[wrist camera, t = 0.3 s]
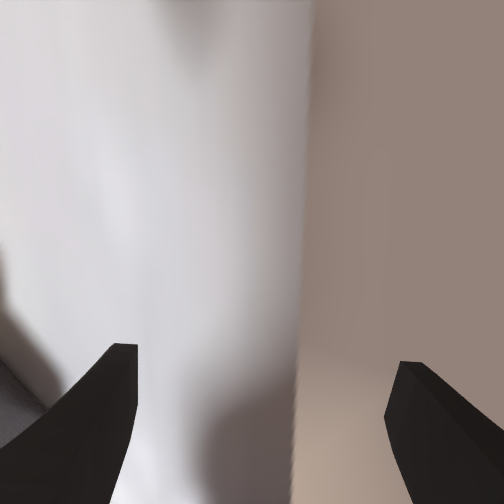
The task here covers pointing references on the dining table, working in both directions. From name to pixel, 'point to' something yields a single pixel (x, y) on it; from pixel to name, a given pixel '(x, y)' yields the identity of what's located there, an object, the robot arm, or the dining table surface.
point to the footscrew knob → (15, 407)
